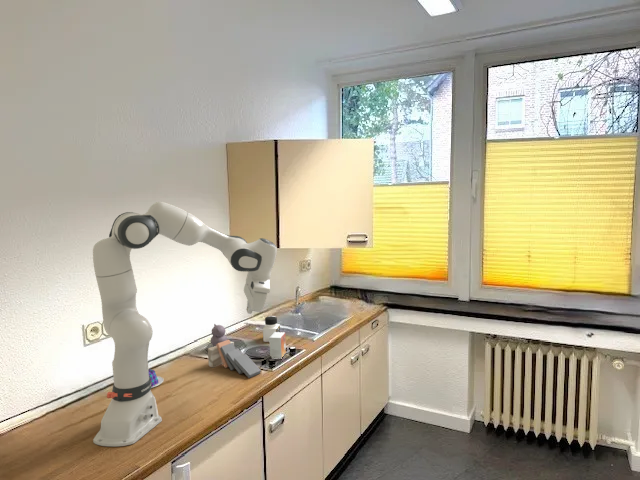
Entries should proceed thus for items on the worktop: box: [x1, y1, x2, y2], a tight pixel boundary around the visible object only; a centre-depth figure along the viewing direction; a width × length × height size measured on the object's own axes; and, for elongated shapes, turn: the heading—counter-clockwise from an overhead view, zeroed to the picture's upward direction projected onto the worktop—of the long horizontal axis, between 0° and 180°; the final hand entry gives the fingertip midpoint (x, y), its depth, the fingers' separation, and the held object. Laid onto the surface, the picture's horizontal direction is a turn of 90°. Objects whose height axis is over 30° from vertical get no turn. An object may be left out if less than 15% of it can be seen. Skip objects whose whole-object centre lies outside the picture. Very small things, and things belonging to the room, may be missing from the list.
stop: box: [207, 340, 235, 368], centre depth 201 cm, size 3×12×8 cm, turn 138°
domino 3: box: [234, 353, 262, 379], centre depth 190 cm, size 2×6×11 cm
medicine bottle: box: [262, 315, 281, 343], centre depth 229 cm, size 7×7×12 cm
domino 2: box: [226, 348, 245, 375], centre depth 193 cm, size 2×6×11 cm
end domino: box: [216, 339, 231, 369], centre depth 198 cm, size 2×6×11 cm, turn 137°
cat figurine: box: [210, 323, 228, 347], centre depth 217 cm, size 8×8×12 cm
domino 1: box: [220, 343, 237, 371], centre depth 196 cm, size 2×6×11 cm
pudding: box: [148, 368, 164, 389], centre depth 183 cm, size 12×12×5 cm
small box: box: [268, 331, 287, 360], centre depth 206 cm, size 8×6×10 cm
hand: (248, 312), depth 176 cm, fingers closed
